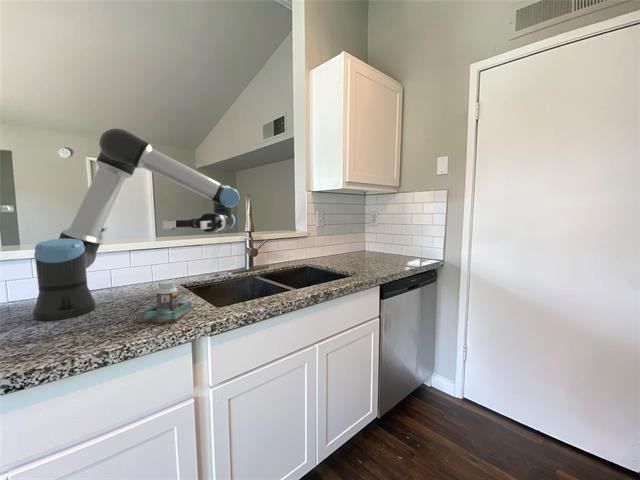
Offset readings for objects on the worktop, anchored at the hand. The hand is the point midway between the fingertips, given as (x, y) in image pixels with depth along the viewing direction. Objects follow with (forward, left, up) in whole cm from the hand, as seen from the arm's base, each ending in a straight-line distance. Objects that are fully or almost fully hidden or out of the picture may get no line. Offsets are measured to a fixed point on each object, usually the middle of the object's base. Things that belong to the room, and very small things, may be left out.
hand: (182, 225), depth 96 cm
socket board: (-2, -10, -28) cm, 30 cm away
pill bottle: (-1, -10, -27) cm, 29 cm away
